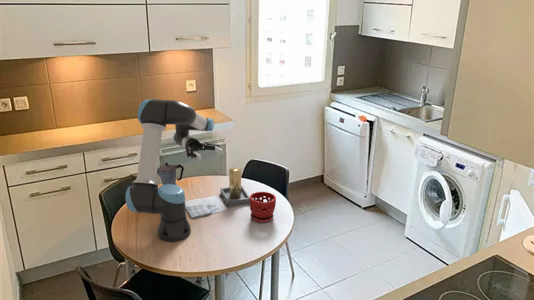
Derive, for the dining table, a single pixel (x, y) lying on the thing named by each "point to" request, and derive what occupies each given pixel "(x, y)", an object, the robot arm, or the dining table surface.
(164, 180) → the moka pot
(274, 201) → the plant pot
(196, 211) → the bicycle print cloth
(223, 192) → the slate tray
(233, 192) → the cylinder
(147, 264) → the dining table surface
